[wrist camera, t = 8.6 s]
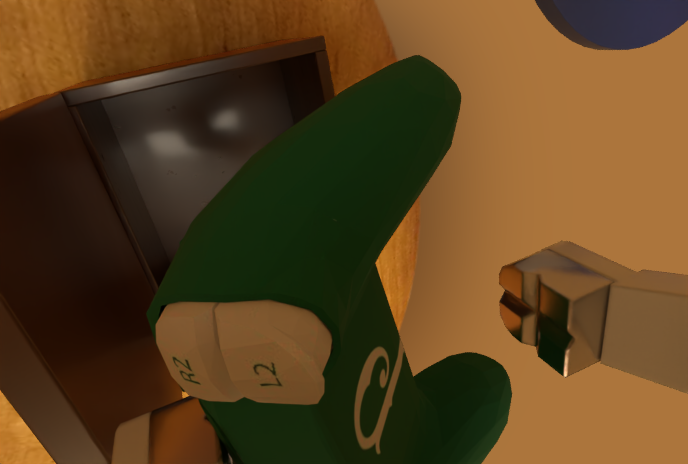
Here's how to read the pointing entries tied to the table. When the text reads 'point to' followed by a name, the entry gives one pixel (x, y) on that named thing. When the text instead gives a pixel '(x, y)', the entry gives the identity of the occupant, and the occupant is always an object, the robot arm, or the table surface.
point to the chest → (191, 132)
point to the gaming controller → (324, 293)
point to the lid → (70, 293)
